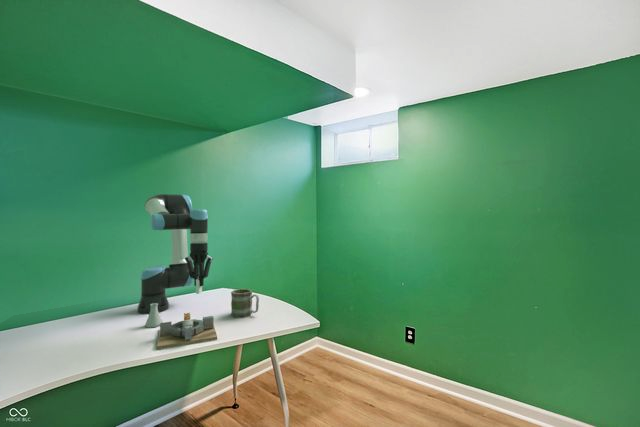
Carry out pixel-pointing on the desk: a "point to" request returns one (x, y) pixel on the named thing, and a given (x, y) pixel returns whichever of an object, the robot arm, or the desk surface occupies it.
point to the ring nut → (186, 327)
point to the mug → (243, 303)
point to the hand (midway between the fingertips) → (199, 293)
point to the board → (174, 341)
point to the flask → (153, 317)
